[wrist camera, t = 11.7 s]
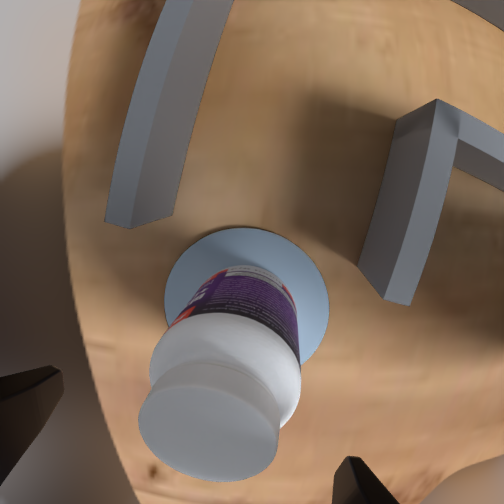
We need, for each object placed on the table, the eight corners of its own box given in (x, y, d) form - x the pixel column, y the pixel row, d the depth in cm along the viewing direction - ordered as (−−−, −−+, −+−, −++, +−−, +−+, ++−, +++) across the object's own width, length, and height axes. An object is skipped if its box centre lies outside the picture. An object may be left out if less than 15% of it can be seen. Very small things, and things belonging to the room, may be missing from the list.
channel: (535, 42, 12) (576, 23, 7) (492, 306, 16) (537, 338, 11) (243, -69, 12) (231, -118, 8) (151, 210, 17) (104, 221, 12)
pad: (351, 254, 16) (352, 255, 16) (298, 393, 18) (298, 396, 18) (183, 208, 17) (181, 208, 16) (156, 353, 19) (155, 355, 18)
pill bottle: (204, 252, 17) (113, 335, 7) (307, 275, 16) (333, 388, 7) (190, 343, 18) (119, 466, 8) (282, 364, 18) (277, 506, 8)
